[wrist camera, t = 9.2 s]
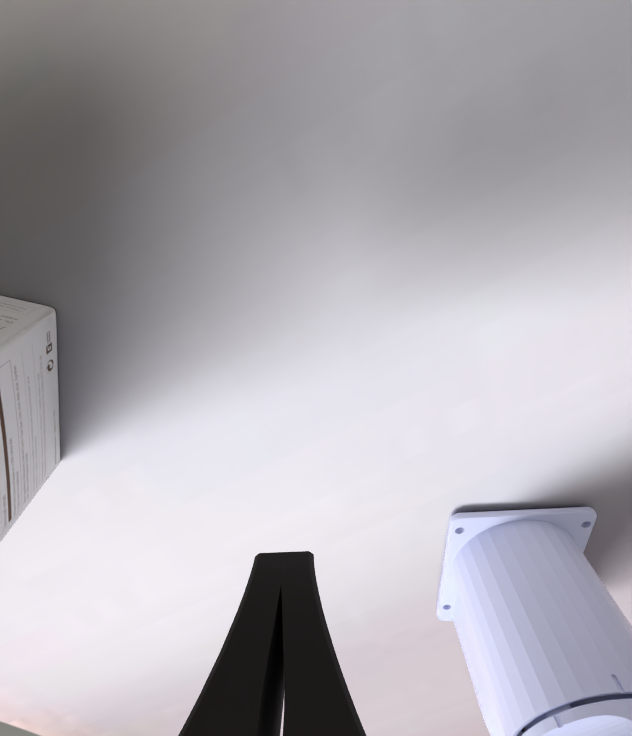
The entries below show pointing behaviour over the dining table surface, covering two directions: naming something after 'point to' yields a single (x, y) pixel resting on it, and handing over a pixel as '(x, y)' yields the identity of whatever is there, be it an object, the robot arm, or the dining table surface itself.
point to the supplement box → (26, 404)
